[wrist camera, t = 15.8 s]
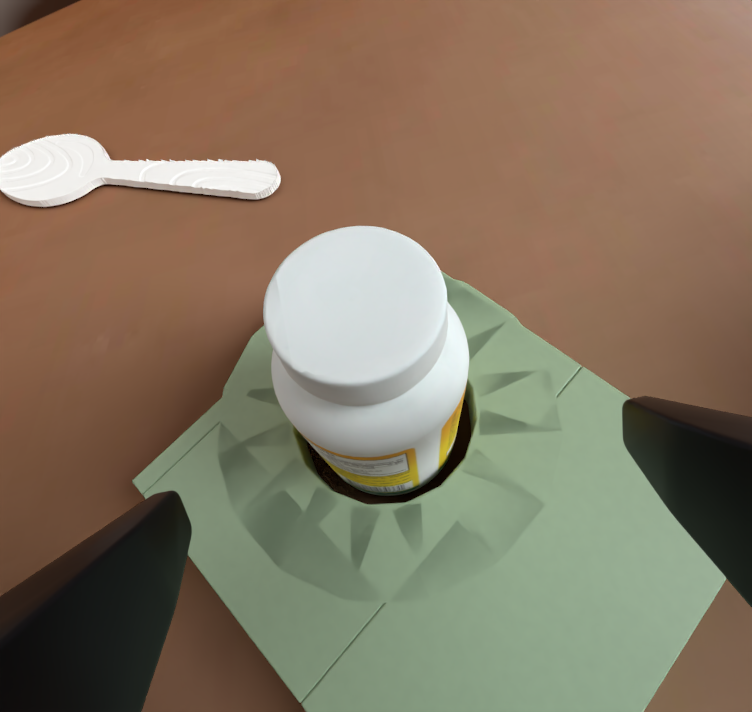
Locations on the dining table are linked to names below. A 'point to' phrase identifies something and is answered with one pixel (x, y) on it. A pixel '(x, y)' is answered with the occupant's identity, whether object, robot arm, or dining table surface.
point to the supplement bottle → (368, 356)
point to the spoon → (120, 173)
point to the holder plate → (448, 545)
